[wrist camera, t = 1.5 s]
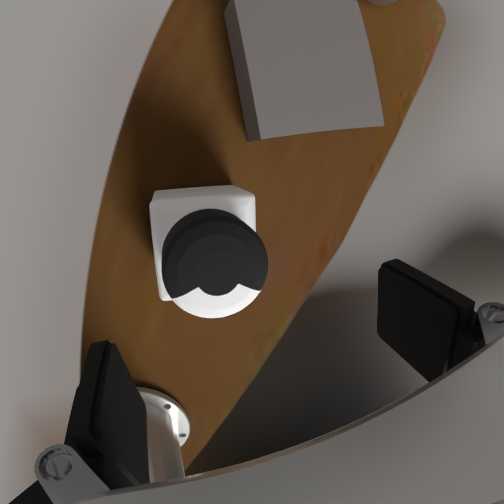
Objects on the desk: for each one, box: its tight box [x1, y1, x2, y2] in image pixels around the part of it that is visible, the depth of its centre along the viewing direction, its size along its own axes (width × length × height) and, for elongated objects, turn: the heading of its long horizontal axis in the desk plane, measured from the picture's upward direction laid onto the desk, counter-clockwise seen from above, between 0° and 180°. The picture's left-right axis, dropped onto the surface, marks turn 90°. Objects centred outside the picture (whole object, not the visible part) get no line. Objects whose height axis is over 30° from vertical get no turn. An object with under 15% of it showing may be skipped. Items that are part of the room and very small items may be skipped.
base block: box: [224, 0, 384, 142], centre depth 24 cm, size 13×12×4 cm
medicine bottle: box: [149, 185, 268, 318], centre depth 22 cm, size 7×7×12 cm
